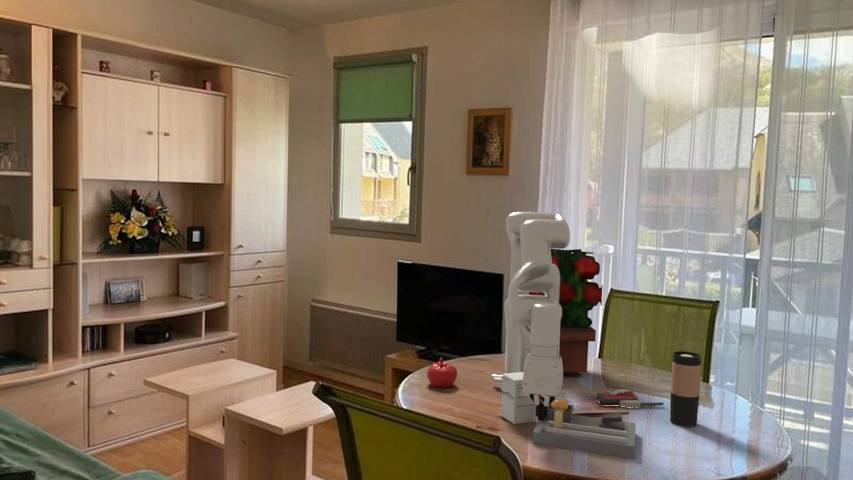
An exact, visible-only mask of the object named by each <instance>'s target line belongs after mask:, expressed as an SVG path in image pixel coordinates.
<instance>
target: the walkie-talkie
mask: <svg viewBox="0 0 853 480" xmlns="http://www.w3.org/2000/svg"><path fill="white" fill-rule="evenodd" d="M596 399H597V400H598V401H600V403H599V402H598V403H599V405H601V406H602V405H619V406H618V407H620V406H625V407H631V408H630V409H641V407H655V406H664V405H665V404H664V402H662V401H661V402H643V401H642V402H641V401H639V397H638V396H637V395H635V394H634V393H633V392H632V391H631V390H630V389H627V388H625V389H621V388H620V389H619V388H618V389H616V390H614V391H613V392H612V391H611V390H607V392H596ZM632 407H633V408H632ZM636 407H638V408H636Z"/></svg>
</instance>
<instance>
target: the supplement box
mask: <svg viewBox="0 0 853 480" xmlns="http://www.w3.org/2000/svg"><path fill="white" fill-rule="evenodd" d="M523 373H524V372H516V373H506V374H505V373H503V374H502V375H503V376H502V391H501V401H500V403H501V404H500V416H501V417H502V418H504V419H505V420H506V421H509V422H510V423H512V424H513V425H516V424H517V425H519V424H526V423H533V422H535V421H536V405H535V403H534V401H533V400H532V399H531V398H530V397H527V396H525V395H523V394H522V391H523V387H522V386H523Z"/></svg>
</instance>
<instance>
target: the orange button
mask: <svg viewBox="0 0 853 480" xmlns="http://www.w3.org/2000/svg"><path fill="white" fill-rule="evenodd" d="M568 405H569V400H568V399H566V398H563V399H562V400H554V401H553V402H552V403H551V409H552V410H555V409H556V407H561V408H564V411H567V412H568Z"/></svg>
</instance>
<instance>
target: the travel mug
mask: <svg viewBox="0 0 853 480" xmlns="http://www.w3.org/2000/svg"><path fill="white" fill-rule="evenodd" d="M671 365H672V366H671V367H672V368H671V378H670V379H671V381H670V382H671V383H670V400H669V401H670V402H669V403H670V405H669V406H670V408H669V410H670V411H669V421H670V423H671V424H673V425H674V426H677V427H678V426H679V427H683V428H693V427H694V428H695V427H696V426H697V425H698V414H699V413H698V412H699V402H700V391H701V390H700V387H701V386H700V385H701V366H702V355H701V354H699V353H696V352H692V351H685V350H678V351H674V352H672V364H671Z"/></svg>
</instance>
